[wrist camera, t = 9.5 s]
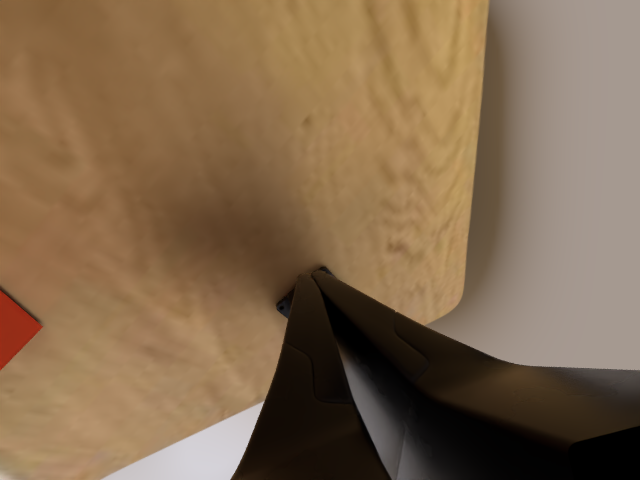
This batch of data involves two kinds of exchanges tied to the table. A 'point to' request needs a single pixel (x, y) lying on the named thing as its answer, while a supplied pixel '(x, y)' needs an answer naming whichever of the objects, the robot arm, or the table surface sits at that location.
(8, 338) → the file binder
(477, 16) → the table surface
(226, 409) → the table surface
